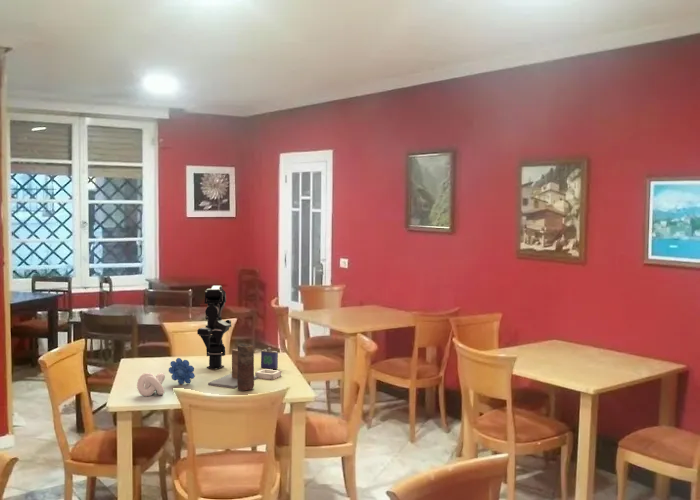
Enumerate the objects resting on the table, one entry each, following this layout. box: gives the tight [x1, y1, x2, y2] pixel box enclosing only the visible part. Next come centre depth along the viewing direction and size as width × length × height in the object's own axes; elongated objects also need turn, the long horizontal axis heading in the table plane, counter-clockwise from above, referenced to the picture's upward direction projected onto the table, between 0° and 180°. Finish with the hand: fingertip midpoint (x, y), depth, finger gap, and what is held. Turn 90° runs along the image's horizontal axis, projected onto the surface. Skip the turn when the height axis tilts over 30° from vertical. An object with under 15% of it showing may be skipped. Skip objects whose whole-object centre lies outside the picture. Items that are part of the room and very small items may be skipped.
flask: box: [260, 347, 279, 370], centre depth 348 cm, size 9×3×11 cm, turn 68°
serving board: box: [207, 372, 259, 389], centre depth 322 cm, size 20×14×1 cm
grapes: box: [168, 357, 196, 385], centre depth 314 cm, size 12×7×12 cm, turn 95°
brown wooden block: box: [231, 348, 238, 379], centre depth 325 cm, size 4×5×13 cm
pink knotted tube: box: [136, 372, 166, 397], centre depth 298 cm, size 11×12×9 cm
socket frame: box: [254, 368, 282, 380], centre depth 331 cm, size 8×9×2 cm
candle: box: [237, 343, 255, 392], centre depth 308 cm, size 8×7×20 cm
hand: (213, 346), depth 336 cm, fingers open, 9 cm apart
